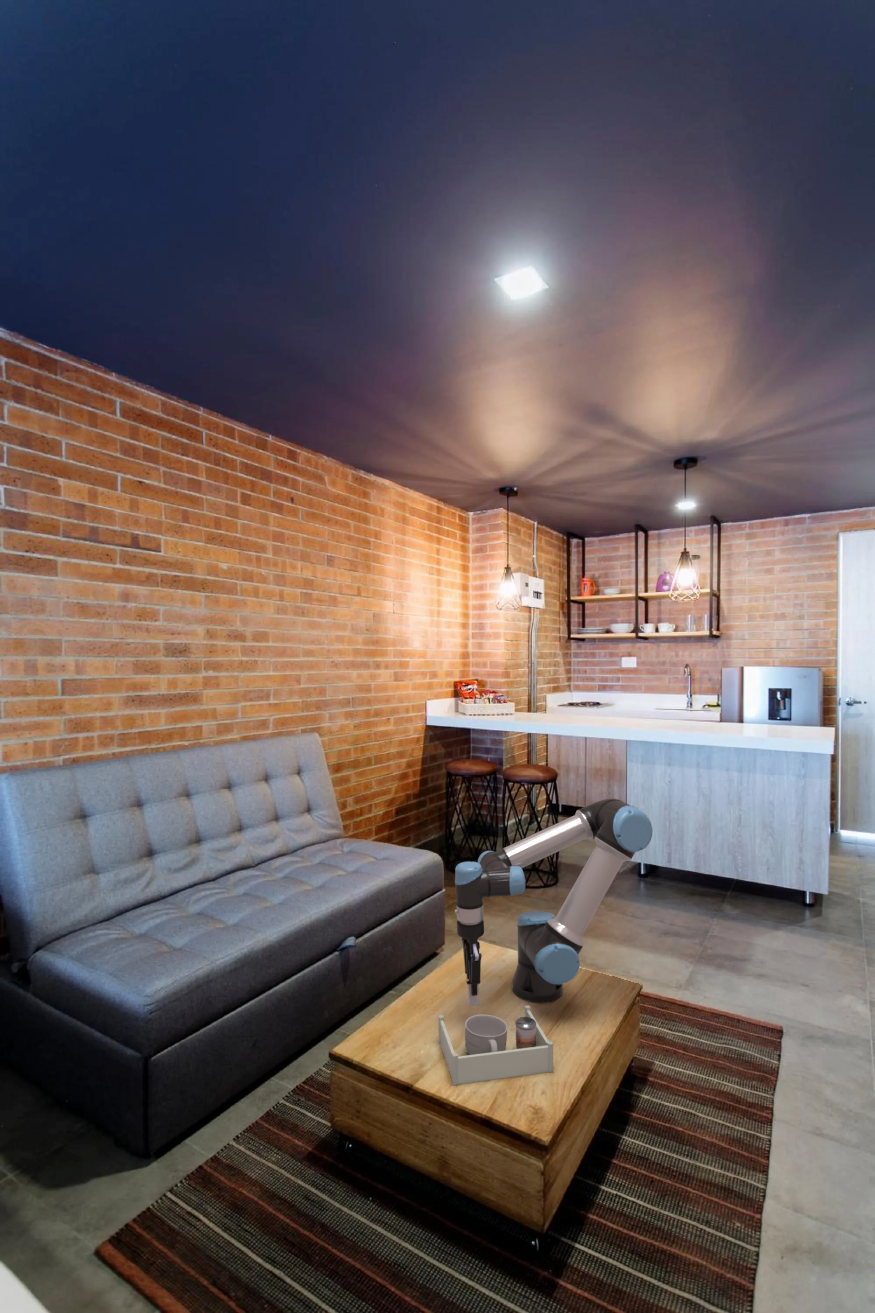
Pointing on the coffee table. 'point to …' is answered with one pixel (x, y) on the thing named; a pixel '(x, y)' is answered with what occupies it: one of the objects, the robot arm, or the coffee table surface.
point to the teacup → (485, 1034)
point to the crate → (497, 1059)
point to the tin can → (525, 1032)
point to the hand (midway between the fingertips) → (473, 1004)
